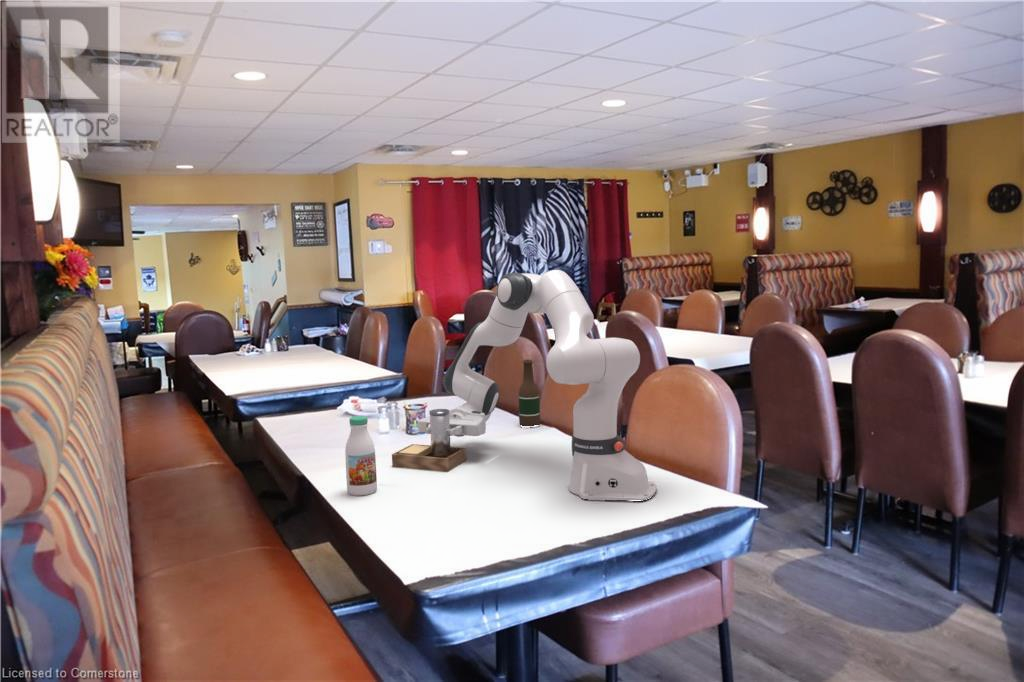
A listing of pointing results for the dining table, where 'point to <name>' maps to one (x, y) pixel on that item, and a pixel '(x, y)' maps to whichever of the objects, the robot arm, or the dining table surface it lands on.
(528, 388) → the beer bottle
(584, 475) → the robot arm
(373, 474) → the milk bottle
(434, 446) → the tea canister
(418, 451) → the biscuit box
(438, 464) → the caddy
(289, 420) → the dining table surface
